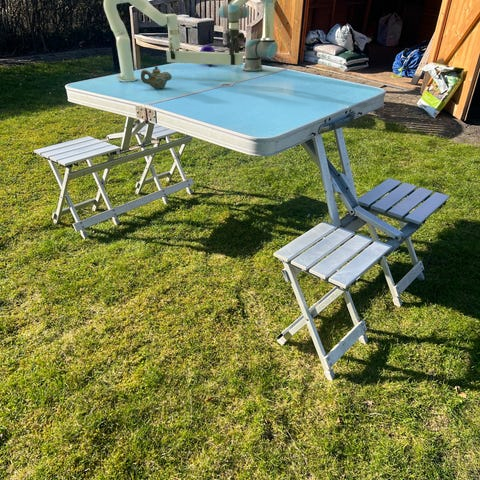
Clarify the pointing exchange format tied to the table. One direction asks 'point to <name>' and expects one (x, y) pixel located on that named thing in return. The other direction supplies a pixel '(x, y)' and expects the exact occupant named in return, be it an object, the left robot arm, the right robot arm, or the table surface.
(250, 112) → the table surface
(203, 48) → the toy
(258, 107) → the table surface
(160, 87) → the teapot
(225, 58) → the block
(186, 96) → the table surface
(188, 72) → the table surface
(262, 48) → the right robot arm
